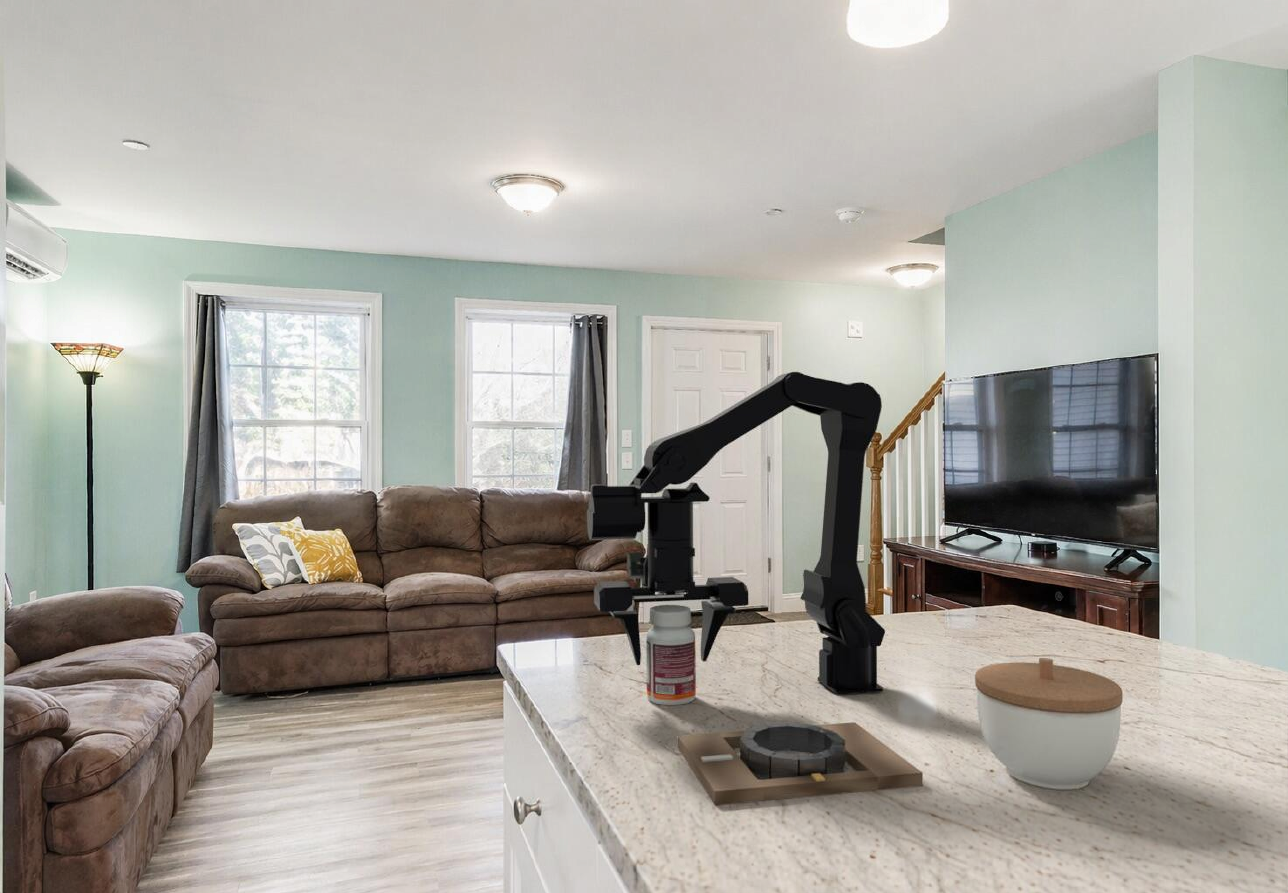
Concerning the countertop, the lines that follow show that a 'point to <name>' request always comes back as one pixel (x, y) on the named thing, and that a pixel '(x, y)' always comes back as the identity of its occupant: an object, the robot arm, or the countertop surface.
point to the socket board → (793, 762)
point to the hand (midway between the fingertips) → (671, 662)
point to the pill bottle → (670, 656)
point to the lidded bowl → (1049, 721)
